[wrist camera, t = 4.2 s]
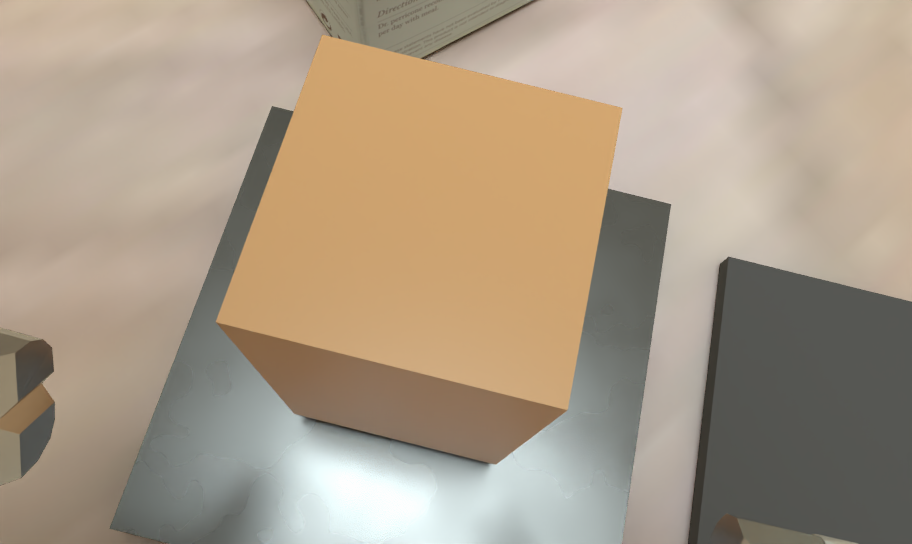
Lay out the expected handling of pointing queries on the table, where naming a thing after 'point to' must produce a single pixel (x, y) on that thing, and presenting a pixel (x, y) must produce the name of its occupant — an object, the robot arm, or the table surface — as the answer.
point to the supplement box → (408, 21)
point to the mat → (806, 408)
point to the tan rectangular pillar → (424, 251)
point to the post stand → (385, 459)
